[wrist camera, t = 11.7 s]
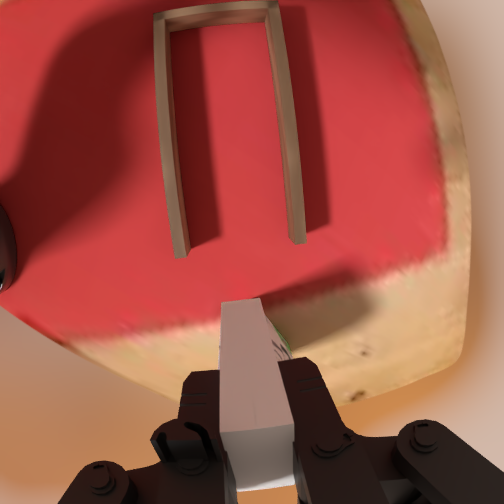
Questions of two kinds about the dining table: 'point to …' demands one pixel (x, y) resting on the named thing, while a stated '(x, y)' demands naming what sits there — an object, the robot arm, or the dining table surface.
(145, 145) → the dining table surface
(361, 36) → the dining table surface
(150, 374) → the dining table surface
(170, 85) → the walnut frame
